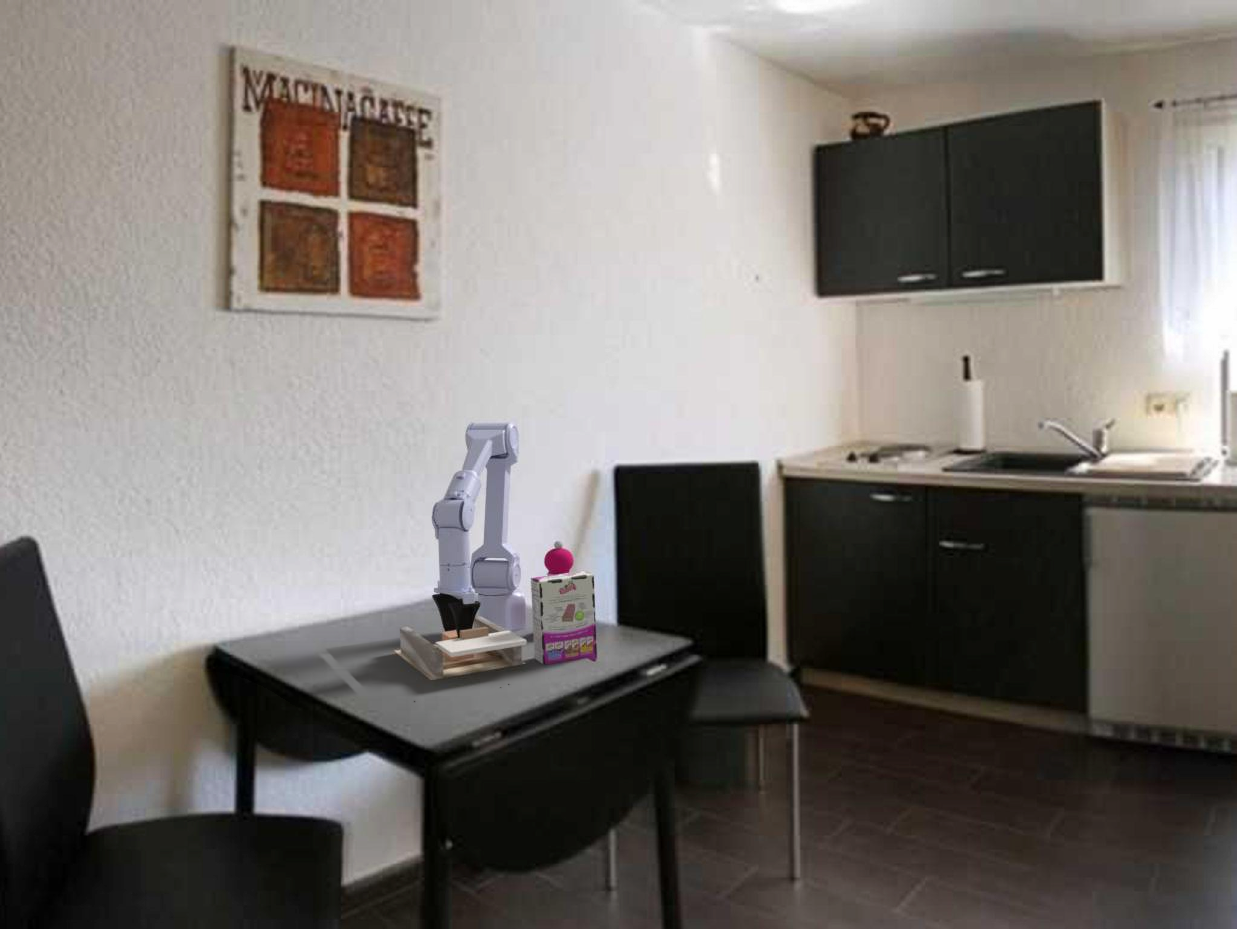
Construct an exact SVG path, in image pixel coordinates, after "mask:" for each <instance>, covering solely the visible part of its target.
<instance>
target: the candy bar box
mask: <svg viewBox="0 0 1237 929" xmlns="http://www.w3.org/2000/svg"><path fill="white" fill-rule="evenodd" d="M530 587H531V588H530V591H531V611H532V613H531V614H532V634H533V638H532V639H533V653H534V656H533V657H534V660H536V661H537V662H539V663H541V664H542V665H548V664H554V663H561V662H565V661H566V662H567V661H571V660H578V659H582V658H583V659H585V658H586V659H588V660H589V661H596V660H598V647H597V646H598V645H597V643H598V642H597V625H596V624H597V623H596V596H595V575H594V574H593V573H590V572H588V571H585V570H580V571H575V572H574V571H573V572H572V571H571V573H564V574H557V575H550V576H548V575H544V576H536V577H531V578H530Z"/></svg>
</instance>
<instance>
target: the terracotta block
mask: <svg viewBox="0 0 1237 929" xmlns="http://www.w3.org/2000/svg"><path fill="white" fill-rule="evenodd" d="M452 639H458V636H457V631H456V630H453V631H444V632H441V641H445V640H452ZM443 656H444V657H445V658H446V659H448V660H449V661H457V660H463V659H469V658H474V653H473V654H467V655H461V656H455V657H450V656H449V655H448V654H446V653H445V652H443Z"/></svg>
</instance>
